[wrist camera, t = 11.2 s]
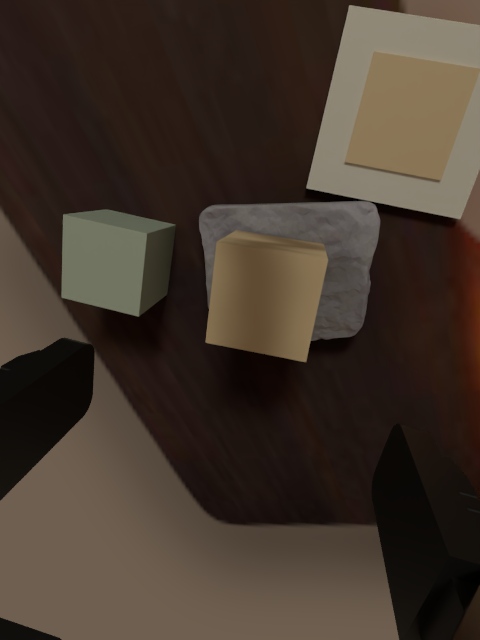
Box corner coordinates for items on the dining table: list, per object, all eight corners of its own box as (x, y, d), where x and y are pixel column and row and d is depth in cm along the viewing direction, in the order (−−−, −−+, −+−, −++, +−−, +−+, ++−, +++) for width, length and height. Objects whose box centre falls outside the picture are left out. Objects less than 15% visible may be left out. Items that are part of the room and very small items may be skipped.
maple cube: (323, 243, 23) (328, 259, 18) (306, 326, 25) (306, 362, 20) (236, 230, 24) (216, 241, 19) (226, 311, 26) (205, 342, 21)
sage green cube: (176, 224, 28) (147, 233, 23) (167, 294, 30) (138, 316, 25) (107, 209, 28) (63, 214, 23) (102, 278, 30) (61, 297, 25)
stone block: (365, 316, 30) (377, 186, 25) (372, 352, 26) (388, 204, 21) (220, 314, 32) (204, 194, 27) (206, 346, 28) (184, 212, 23)
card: (526, 37, 21) (534, 32, 20) (456, 218, 25) (461, 219, 24) (348, 9, 22) (349, 3, 21) (306, 188, 26) (306, 188, 25)
